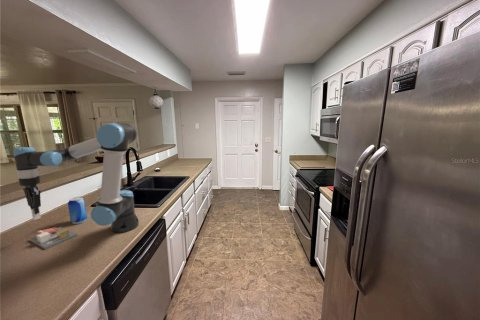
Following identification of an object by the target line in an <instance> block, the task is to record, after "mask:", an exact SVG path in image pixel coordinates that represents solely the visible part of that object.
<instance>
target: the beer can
mask: <svg viewBox="0 0 480 320" xmlns="http://www.w3.org/2000/svg"><path fill="white" fill-rule="evenodd" d="M67 206H68V213H69V214H68V215H69V220H70V223H71V224H73V225H78V224H79V225H80V224H82V223H85V222H86V221H87V219H88V215H87V208H86V201H85V199H84V198H83V197H82V196H75V197H71V198H69V200H68V202H67Z"/></svg>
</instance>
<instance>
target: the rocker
mask: <svg viewBox="0 0 480 320" xmlns="http://www.w3.org/2000/svg"><path fill="white" fill-rule="evenodd" d="M57 228H58V227H51V228H46V229H42V230H40V229H39V230H36V234H37V235H39V234H42V233H44V232H48V233H53V232H57V231H59V229H57Z"/></svg>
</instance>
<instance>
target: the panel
mask: <svg viewBox="0 0 480 320" xmlns="http://www.w3.org/2000/svg"><path fill="white" fill-rule="evenodd" d="M56 228H57V229H59V231H60V230H62V229H65V228H64V227H61V226H60V227H56ZM69 235H70V236H68V237H66V238H63V239H59V238H57V234H56V232H53V233H50V236H51V240H48V241H46V242H43V243H40V242H38V240H37V235H35V236H32V237H30V238H28V240H29V242H31V243H33V244H35V245H37V246H38V247H39V248H42V249H44V250H47V249H49V248H53V247H54V246H57V245H59V244H61V243H64V242H66V241H68V240H70V239H73V238H75V237H77V236H78V233H75V232H72V231H71V230H69Z"/></svg>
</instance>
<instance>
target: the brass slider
mask: <svg viewBox="0 0 480 320" xmlns="http://www.w3.org/2000/svg"><path fill="white" fill-rule="evenodd" d="M69 231H70V230H69V229H66V228H64V229H62V230H60V231H57V232H56V234H57V238H59V239H63V238H66V237H68V236H70V235H69Z"/></svg>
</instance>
